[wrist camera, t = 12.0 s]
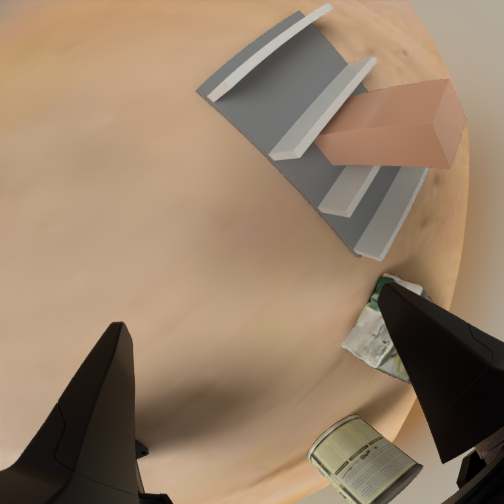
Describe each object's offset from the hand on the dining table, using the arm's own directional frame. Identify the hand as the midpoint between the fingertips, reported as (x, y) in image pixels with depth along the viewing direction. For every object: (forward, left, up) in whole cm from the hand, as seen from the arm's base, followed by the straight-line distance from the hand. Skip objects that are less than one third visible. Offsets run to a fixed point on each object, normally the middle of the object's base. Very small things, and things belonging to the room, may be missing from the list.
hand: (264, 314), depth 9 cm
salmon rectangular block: (+3, -14, -9) cm, 17 cm away
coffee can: (-36, -5, -10) cm, 37 cm away
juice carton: (-22, -17, -11) cm, 30 cm away
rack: (+3, -14, -10) cm, 17 cm away
